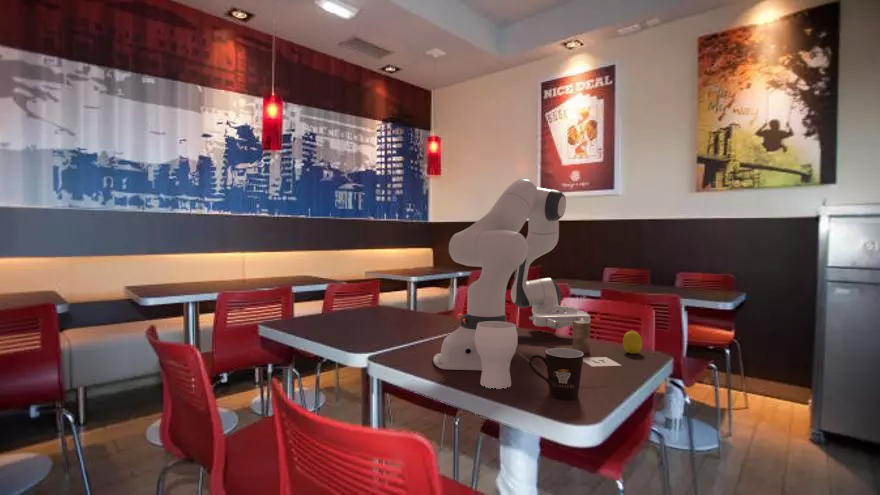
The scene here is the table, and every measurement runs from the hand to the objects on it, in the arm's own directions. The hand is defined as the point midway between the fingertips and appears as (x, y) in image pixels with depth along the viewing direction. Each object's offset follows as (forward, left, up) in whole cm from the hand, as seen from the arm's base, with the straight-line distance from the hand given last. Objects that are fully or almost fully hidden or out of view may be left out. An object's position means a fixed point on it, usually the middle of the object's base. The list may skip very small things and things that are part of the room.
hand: (569, 323), depth 152 cm
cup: (-35, -37, -8) cm, 52 cm away
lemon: (+15, -14, -8) cm, 22 cm away
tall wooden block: (0, -10, -7) cm, 13 cm away
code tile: (0, -22, -7) cm, 23 cm away
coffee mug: (-22, -45, -8) cm, 51 cm away
